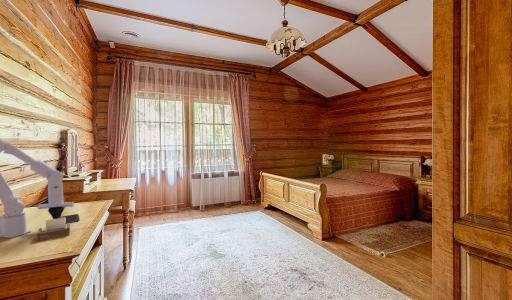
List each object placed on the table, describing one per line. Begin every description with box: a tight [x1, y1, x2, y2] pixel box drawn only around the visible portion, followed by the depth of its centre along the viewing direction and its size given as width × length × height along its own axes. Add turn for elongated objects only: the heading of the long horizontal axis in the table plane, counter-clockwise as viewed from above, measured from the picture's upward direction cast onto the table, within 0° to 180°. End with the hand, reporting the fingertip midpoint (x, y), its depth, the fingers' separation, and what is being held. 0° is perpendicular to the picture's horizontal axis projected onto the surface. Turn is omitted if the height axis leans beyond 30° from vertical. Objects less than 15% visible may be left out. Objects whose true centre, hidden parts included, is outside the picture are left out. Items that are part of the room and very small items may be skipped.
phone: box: [60, 213, 80, 225], centre depth 130 cm, size 8×1×15 cm
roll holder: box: [36, 223, 71, 242], centre depth 107 cm, size 7×11×4 cm
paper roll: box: [45, 217, 67, 232], centre depth 116 cm, size 7×5×5 cm
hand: (57, 222), depth 120 cm, fingers closed
